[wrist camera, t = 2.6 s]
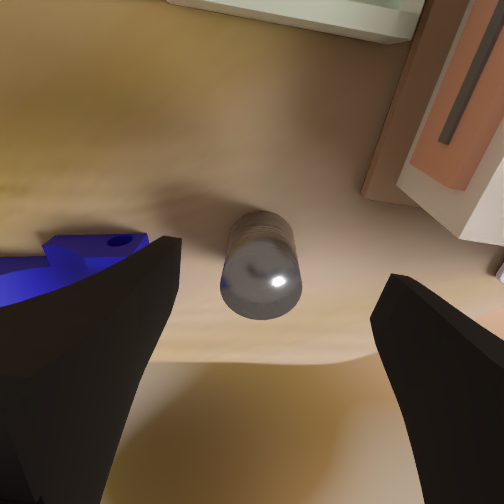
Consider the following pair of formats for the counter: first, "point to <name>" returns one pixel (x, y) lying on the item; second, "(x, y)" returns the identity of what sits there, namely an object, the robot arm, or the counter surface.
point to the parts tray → (327, 15)
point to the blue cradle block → (63, 263)
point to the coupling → (261, 267)
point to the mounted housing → (448, 122)
